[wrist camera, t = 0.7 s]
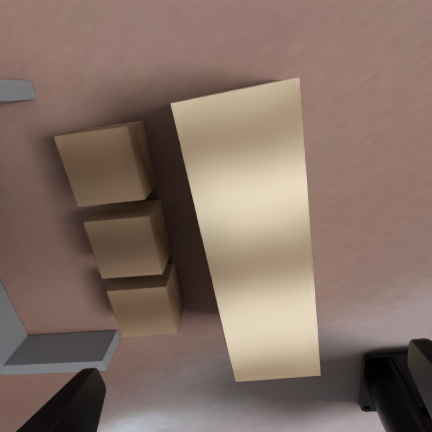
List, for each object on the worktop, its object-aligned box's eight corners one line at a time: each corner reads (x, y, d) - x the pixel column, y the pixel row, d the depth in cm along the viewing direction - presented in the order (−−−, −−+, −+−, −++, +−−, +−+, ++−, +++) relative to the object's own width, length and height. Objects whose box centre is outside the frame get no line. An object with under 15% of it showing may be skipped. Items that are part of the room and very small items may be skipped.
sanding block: (300, 305, 23) (320, 375, 17) (235, 312, 23) (235, 381, 18) (278, 80, 17) (299, 77, 11) (191, 98, 17) (170, 103, 12)
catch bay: (120, 339, 25) (105, 370, 22) (22, 344, 26) (-4, 375, 23) (30, 80, 17) (-9, 79, 14) (-106, 102, 18) (-167, 104, 15)
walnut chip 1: (157, 183, 19) (144, 199, 17) (99, 190, 20) (78, 206, 17) (143, 120, 18) (126, 126, 15) (81, 129, 18) (53, 136, 15)
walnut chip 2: (184, 304, 23) (177, 333, 20) (135, 308, 24) (122, 337, 21) (174, 261, 22) (165, 286, 19) (122, 266, 22) (106, 291, 19)
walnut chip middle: (171, 249, 21) (162, 274, 19) (118, 254, 22) (102, 278, 19) (160, 198, 20) (148, 216, 17) (104, 203, 20) (83, 222, 17)
